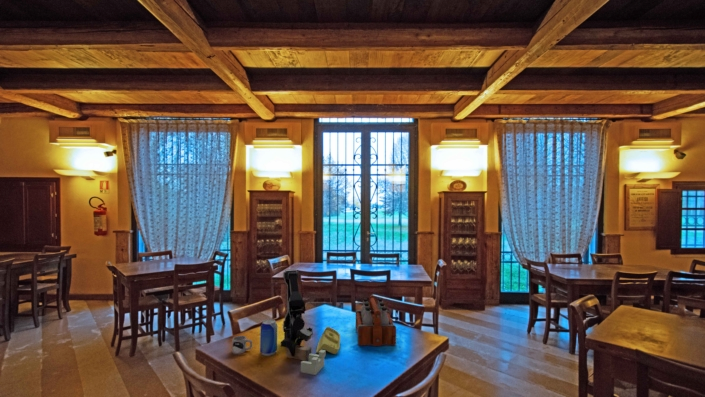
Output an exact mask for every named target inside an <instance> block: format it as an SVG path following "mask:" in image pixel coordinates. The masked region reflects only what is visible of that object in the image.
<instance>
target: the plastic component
mask: <svg viewBox="0 0 705 397" xmlns="http://www.w3.org/2000/svg"><path fill="white" fill-rule="evenodd" d="M323 330H324V331H323V332H322V335H321V336H320V337H319V340H318V343H317V347H316V350H315V353H316V354H319V351H320V350H326V352H328V353H330V354H333V355H336V354H338V352H339V350H340V344H341V334H340V333H339V331H337V330H336V329H335V328H332V327H330V326H326V327H325V328H324V329H323Z"/></svg>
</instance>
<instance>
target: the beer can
mask: <svg viewBox="0 0 705 397" xmlns="http://www.w3.org/2000/svg"><path fill="white" fill-rule="evenodd" d="M259 336H260V338H259V339H260V340H259V341H260V342H259V343H260V344H259V347H260V348H259V349H260V351H259V352H260V353H261V355H262V356H266V357H270V356H273V355H275V354H276V352H277V350H278V323H277V321H276V320H275V319H271V318H269V319H264V320H263V321H262V323H261V325H260V335H259Z"/></svg>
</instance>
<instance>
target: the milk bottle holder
mask: <svg viewBox="0 0 705 397" xmlns="http://www.w3.org/2000/svg"><path fill="white" fill-rule="evenodd" d="M368 298H369V299H368ZM368 298H367V297H363V299H362V303H363V304H362V306H361V308H360V309H357V310H356V311H355V328H356V334H357V345H358V346H372V347H383V346H396V344H397V327H396V324H394V322H393V320H392V318H391V315H390V311H389V310H388V308H387V307H386V305H385V304H386V303H385V302H384V301H383V298H382V297H381V298H380V297H379V298H377V302H376V297H375V295H373V294H372V295H370V296H369V297H368Z"/></svg>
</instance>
